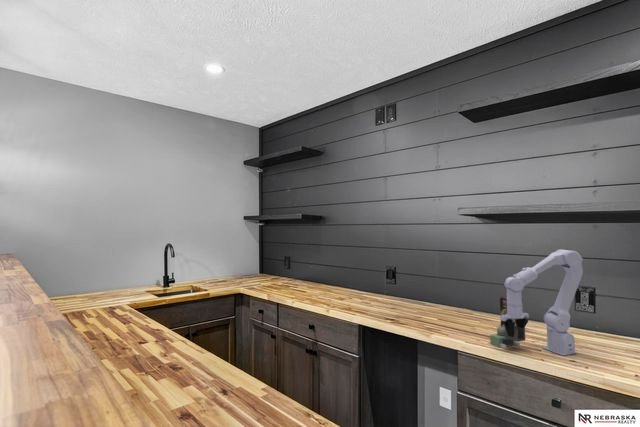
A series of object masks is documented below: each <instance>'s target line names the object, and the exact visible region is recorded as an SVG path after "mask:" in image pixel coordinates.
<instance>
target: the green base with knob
mask: <svg viewBox="0 0 640 427" xmlns="http://www.w3.org/2000/svg"><path fill="white" fill-rule="evenodd" d="M489 339H490V341H489V342H490V343H489V344H491V345H493V346H495V347H498V348H501V349H504V350H506V349H507V347H508V346H509V347H510V346H515V347H521V343H520V341H519V342H516V341H513V340H510V339H508V338H505V328H503V327H501V326H497V327H496V333H494V334H490V338H489Z"/></svg>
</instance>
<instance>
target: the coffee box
mask: <svg viewBox="0 0 640 427" xmlns="http://www.w3.org/2000/svg"><path fill="white" fill-rule="evenodd" d="M499 306H500V307H499V309H500V311H499V314H500V316H502V315H505V314H507V296H501V297H499ZM522 313H524V300H523V299H522ZM512 322H515V319H513V320H512ZM515 326H516V322H515ZM500 327H503V328H505V325H504V324H503V322H502V320H501V319H500Z"/></svg>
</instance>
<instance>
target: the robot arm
mask: <svg viewBox="0 0 640 427" xmlns="http://www.w3.org/2000/svg"><path fill="white" fill-rule="evenodd" d="M583 260H584V258H583V257H582V256H581V254H580V253H579V252H578V251H576V250H567V249H563V248H560V249H557V250H555V251H553V252H551V253H550V254H549V255H548V256H547V257H545V258H544V259H542V260H541V261H540V262H538V263H537V264H535V265H533V266H532V267H529V266H528V267H523V268H522V269H521V270H520V271H519V272H517V273H515V274H513V275H512V276H509V277H507V278H506V279H505V281H504V283H503V286H504V287H505V288H506V297H507V314H505V315H502V316H501V315H500V321H501V320H502V322H503V324H504V325H505V328H506V330H507V334H508V336H510V337H513V335H514V326H515V322H516V326H518V327H521V328H524V329H525V330H526V326H527V324H528V323H529V318H530V314H529V313H527V312H523V313H522V300H523V299H522V298H523V297H522V291H523V290H524V287H525V286H527V285H528V284H531V282H533V281H534V280H537V279H538V275H539V274H540V273H542V272H544V271H546V270H548V269H549V268H551V267H553V266H562V268H563V269H564V271H565V272H566V273H565V275H564V278H563V281H562V284H561V286H560V289H559V291H558V293H557V295H556V296H557V297H556V299H555V300H554V301H555V302H554V305H552V306H550V307H549V309H548V311H547V312H546V313H544V315H543V321H544V323H545V324H546V341H547V346H543V347H542V349H543V350H547V351H549V352H553V353H555V354H558V355H561V356H570V355H574V354H577V351H576V344H575V343H576V342H575V341H576V340H575V336H574V335H573V334H572V333H570V332H568V330H569V329H570V328H571V326H570V325H571V323H570V321H571V320H570V319H571V314H570V308H571V306H572V303H573V300H574V298H575V296H576V293H577V290H578V287H579V284H580V283H581V280H582V277H583V274H584V269H583V263H582V262H583ZM513 319H515V322H512V320H513Z"/></svg>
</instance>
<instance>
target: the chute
mask: <svg viewBox="0 0 640 427" xmlns="http://www.w3.org/2000/svg"><path fill="white" fill-rule="evenodd" d="M505 338H508V339H510V340H513V341H516V342H519V343H520V342H524V341H526V328H525V329H524V328H521V327H518V326H514V335H513V337H510V336H508V334H507V330H506V328H505Z"/></svg>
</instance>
